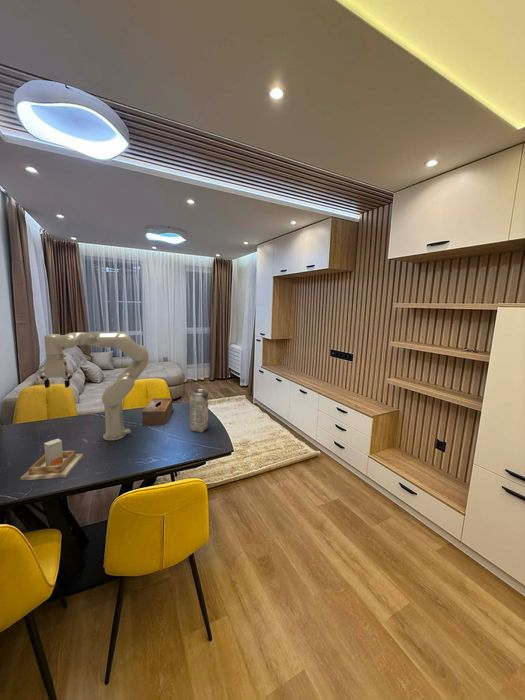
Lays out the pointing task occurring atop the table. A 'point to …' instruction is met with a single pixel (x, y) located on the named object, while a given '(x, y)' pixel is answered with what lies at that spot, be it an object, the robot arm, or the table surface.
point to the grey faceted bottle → (198, 410)
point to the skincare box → (53, 452)
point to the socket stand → (52, 467)
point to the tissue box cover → (157, 411)
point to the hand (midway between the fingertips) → (57, 387)
